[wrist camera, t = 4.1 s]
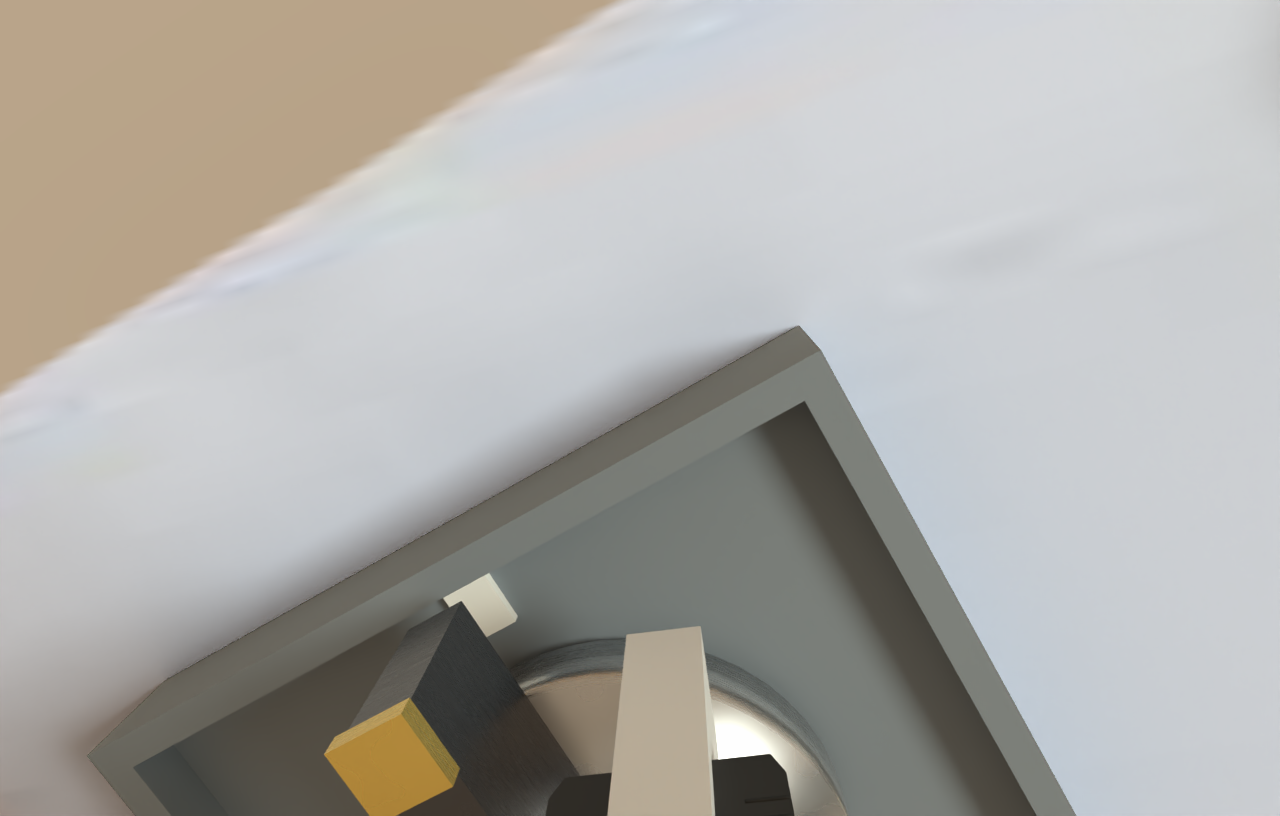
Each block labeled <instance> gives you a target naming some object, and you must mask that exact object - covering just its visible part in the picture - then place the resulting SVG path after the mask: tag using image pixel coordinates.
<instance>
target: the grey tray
mask: <svg viewBox="0 0 1280 816" xmlns="http://www.w3.org/2000/svg"><path fill="white" fill-rule="evenodd" d="M460 601H462V602H463V603H464V605H465V606H466V608H467V609H468V611H469V612H470V614H471V615H472V617H473V618H474V620H475V621H476V623H477V624H478V626H479V627H480V629H481V630H482V631H483V633H484V634H485V636H486V637H487V639H488V640H489V642H490V643H491V645H492V646H493V648H494V649H495V651H496V652H497V654H498V655H499V656H500V658H501V659H502V661H503V662H504V664H505V665H506V667H507V668H508V670H509V669H511V668H513V667H514V666H516V665H518V664H520V663H522V662H525V661H527V660H529V659H532V658H534V657H536V656H538V655H541V654H543V653H546V652H550V651H553V650H556V649H560V648H563V647H566V646H570V645H575V644H581V643H587V642H593V641H599V640H620V639H626V635H627V634H635V633H644V632H653V631H661V630H670V629H679V628H687V627H696V626H701V633H702V640H703V647H704V652H705V653H708V654H711V655H714V656H717V657H719V658H721V659H723V660H725V661H728V662H730V663H732V664H734V665H736V666H738V667H741V668H742V669H744V670H746V671H747V672H749V673H751V674H752V675H754V676H755V677H757V678H759V679H760V680H762V681H763V682H765V683H766V684H768V685H769V686H770V687H771V688H773V689H774V690H775V691H776V692H778V693H779V694H780V695H781V696H782V697H784V698H785V699H786V700H787V701H788V702H789V703H790V704H791V705H792V706H793V707H794V708H795V709H796V710H797V711H798V712H799V713H800V714H801V716H802V717H803V718H804V719H805V720H806V721H807V722H808V724H809V725H810V727H811V728H812V729H813V731H814V732H815V734H816V735H817V736H818V738H819V739H820V741H821V742H822V744H823V746H824V748H825V750H826V752H827V754H828V756H829V758H830V760H831V761H832V763H833V765H834V768H835V771H836V774H837V777H838V780H839V783H840V786H841V789H842V793H843V796H844V800H845V803H846V807H847V811H848V814H849V816H1076V814H1075V813H1074V811H1073V809H1072V807H1071V805H1070V804H1069V802H1068V800H1067V798H1066V796H1065V794H1064V793H1063V791H1062V789H1061V787H1060V785H1059V783H1058V782H1057V780H1056V778H1055V776H1054V774H1053V773H1052V771H1051V769H1050V767H1049V765H1048V763H1047V762H1046V760H1045V758H1044V756H1043V754H1042V752H1041V751H1040V749H1039V747H1038V745H1037V743H1036V742H1035V740H1034V738H1033V736H1032V734H1031V732H1030V731H1029V729H1028V727H1027V725H1026V723H1025V721H1024V720H1023V718H1022V716H1021V714H1020V712H1019V711H1018V709H1017V707H1016V705H1015V703H1014V701H1013V700H1012V698H1011V696H1010V694H1009V692H1008V690H1007V689H1006V687H1005V685H1004V683H1003V681H1002V680H1001V678H1000V676H999V674H998V672H997V670H996V669H995V667H994V665H993V663H992V661H991V659H990V658H989V656H988V654H987V652H986V650H985V649H984V647H983V645H982V643H981V641H980V639H979V638H978V636H977V634H976V632H975V630H974V628H973V627H972V625H971V623H970V621H969V619H968V618H967V616H966V614H965V612H964V610H963V608H962V607H961V605H960V603H959V601H958V599H957V597H956V596H955V594H954V592H953V590H952V588H951V587H950V585H949V583H948V581H947V579H946V577H945V576H944V574H943V572H942V570H941V568H940V566H939V565H938V563H937V561H936V559H935V557H934V556H933V554H932V552H931V550H930V548H929V546H928V545H927V543H926V541H925V539H924V537H923V535H922V534H921V532H920V530H919V528H918V526H917V525H916V523H915V521H914V519H913V517H912V515H911V514H910V512H909V510H908V508H907V506H906V504H905V503H904V501H903V499H902V497H901V495H900V494H899V492H898V490H897V488H896V486H895V484H894V483H893V481H892V479H891V477H890V475H889V473H888V472H887V470H886V468H885V466H884V464H883V463H882V461H881V459H880V457H879V455H878V453H877V452H876V450H875V448H874V446H873V444H872V442H871V441H870V439H869V437H868V435H867V433H866V431H865V430H864V428H863V426H862V424H861V422H860V421H859V419H858V417H857V415H856V413H855V411H854V410H853V408H852V406H851V404H850V402H849V400H848V399H847V397H846V395H845V393H844V391H843V390H842V388H841V386H840V384H839V382H838V380H837V379H836V377H835V375H834V373H833V371H832V369H831V368H830V366H829V364H828V362H827V360H826V359H825V357H824V355H823V353H822V351H821V350H820V349H819V347H818V346H817V345H816V344H815V343H814V342H813V341H812V340H811V338H810V337H809V336H808V335H807V334H806V333H805V332H804V331H803V329H802V328H801V327H800V326H797V327H795V328H793V329H792V330H790V331H788V332H786V333H785V334H783V335H781V336H779V337H777V338H776V339H774V340H772V341H770V342H768V343H767V344H765V345H763V346H761V347H760V348H758V349H756V350H754V351H752V352H751V353H749V354H747V355H745V356H744V357H742V358H740V359H738V360H736V361H735V362H733V363H731V364H729V365H727V366H726V367H724V368H722V369H720V370H719V371H717V372H715V373H713V374H711V375H710V376H708V377H706V378H704V379H702V380H701V381H699V382H697V383H695V384H694V385H692V386H690V387H688V388H686V389H685V390H683V391H681V392H679V393H677V394H676V395H674V396H672V397H670V398H669V399H667V400H665V401H663V402H661V403H660V404H658V405H656V406H654V407H652V408H651V409H649V410H647V411H645V412H644V413H642V414H640V415H638V416H636V417H635V418H633V419H631V420H629V421H628V422H626V423H624V424H622V425H620V426H619V427H617V428H615V429H613V430H611V431H610V432H608V433H606V434H604V435H603V436H601V437H599V438H597V439H595V440H594V441H592V442H590V443H588V444H586V445H585V446H583V447H581V448H579V449H578V450H576V451H574V452H572V453H570V454H569V455H567V456H565V457H563V458H561V459H560V460H558V461H556V462H554V463H553V464H551V465H549V466H547V467H545V468H544V469H542V470H540V471H538V472H536V473H535V474H533V475H531V476H529V477H528V478H526V479H524V480H522V481H520V482H519V483H517V484H515V485H513V486H512V487H510V488H508V489H506V490H504V491H503V492H501V493H499V494H497V495H495V496H494V497H492V498H490V499H488V500H487V501H485V502H483V503H481V504H479V505H478V506H476V507H474V508H472V509H470V510H469V511H467V512H465V513H463V514H462V515H460V516H458V517H456V518H454V519H453V520H451V521H449V522H447V523H445V524H444V525H442V526H440V527H438V528H437V529H435V530H433V531H431V532H429V533H428V534H426V535H424V536H422V537H420V538H419V539H417V540H415V541H413V542H412V543H410V544H408V545H406V546H404V547H403V548H401V549H399V550H397V551H395V552H394V553H392V554H390V555H388V556H387V557H385V558H383V559H381V560H379V561H378V562H376V563H374V564H372V565H371V566H369V567H367V568H365V569H363V570H362V571H360V572H358V573H356V574H354V575H353V576H351V577H349V578H347V579H346V580H344V581H342V582H340V583H338V584H337V585H335V586H333V587H331V588H329V589H328V590H326V591H324V592H322V593H321V594H319V595H317V596H315V597H313V598H312V599H310V600H308V601H306V602H304V603H303V604H301V605H299V606H297V607H296V608H294V609H292V610H290V611H288V612H287V613H285V614H283V615H281V616H279V617H278V618H276V619H274V620H272V621H271V622H269V623H267V624H265V625H263V626H262V627H260V628H258V629H256V630H255V631H253V632H251V633H249V634H247V635H246V636H244V637H242V638H240V639H238V640H237V641H235V642H233V643H231V644H230V645H228V646H226V647H224V648H222V649H221V650H219V651H217V652H215V653H213V654H212V655H210V656H208V657H206V658H205V659H203V660H201V661H199V662H197V663H196V664H194V665H192V666H190V667H188V668H187V669H185V670H183V671H181V672H180V673H178V674H176V675H174V676H172V677H171V678H169V679H167V680H165V681H164V682H163V683H162V684H161V685H160V686H159V687H158V688H157V689H156V690H155V691H154V692H153V693H151V694H150V695H149V696H148V697H147V698H146V699H145V700H144V701H143V702H142V703H141V704H140V705H139V706H138V707H137V708H136V709H135V710H134V711H133V712H132V713H131V714H130V715H129V716H128V717H127V718H126V719H125V720H124V721H123V722H121V723H120V724H119V725H118V726H117V727H116V728H115V729H114V730H113V731H112V732H111V733H110V734H109V735H108V736H107V737H106V738H105V739H104V740H103V741H102V742H101V743H100V744H99V745H98V746H97V747H96V748H95V749H94V750H93V751H92V752H90V753H89V754H88V755H87V757H88V758H89V759H90V760H91V762H92V763H93V764H94V765H95V767H96V768H97V769H98V770H99V771H100V773H101V774H102V775H103V776H104V778H105V779H106V780H107V781H108V783H109V784H110V785H111V786H112V788H113V789H114V790H115V791H116V792H117V794H118V795H119V796H120V797H121V799H122V800H123V801H124V802H125V804H126V805H127V806H128V807H129V808H130V810H131V811H132V812H133V813H134V815H135V816H369V814H368V813H367V812H366V810H365V809H364V808H363V806H362V805H361V804H360V802H359V801H358V800H357V798H356V797H355V795H354V794H353V793H352V791H351V790H350V789H349V787H348V786H347V785H346V783H345V782H344V781H343V779H342V778H341V777H340V775H339V774H338V773H337V771H336V770H335V769H334V767H333V766H332V765H331V763H330V762H329V761H328V759H327V758H326V757H325V755H324V754H325V752H326V750H327V749H328V747H329V745H330V744H331V742H332V741H333V739H334V737H336V736H338V735H339V734H341V733H343V732H345V731H347V730H348V729H349V728H350V726H351V724H352V723H353V721H354V719H355V718H356V716H357V714H358V713H359V711H360V709H361V708H362V706H363V704H364V703H365V701H366V699H367V698H368V696H369V694H370V693H371V691H372V689H373V688H374V686H375V684H376V683H377V681H378V679H379V678H380V676H381V674H382V673H383V671H384V669H385V668H386V666H387V664H388V663H389V661H390V659H391V658H392V656H393V654H394V653H395V651H396V650H397V648H398V646H399V645H400V643H401V641H402V640H403V638H404V636H405V635H406V633H407V631H408V630H409V629H410V628H412V627H414V626H416V625H418V624H420V623H421V622H423V621H425V620H427V619H429V618H431V617H433V616H434V615H436V614H438V613H440V612H442V611H444V610H445V609H447V608H449V607H451V606H453V605H455V604H456V603H458V602H460ZM396 816H399V815H396Z"/></svg>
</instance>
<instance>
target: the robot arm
mask: <svg viewBox="0 0 1280 816" xmlns="http://www.w3.org/2000/svg"><path fill="white" fill-rule="evenodd" d="M545 816H795V815H794V809H793V804H792V799H791V794H790V788H789V783H788V778H787V773H786V771H785V770H784V769H783V768H782V767H781V765H780V764H779V763H778V762H777V761H776V760H775V759H774V757H773V756H772V755H771V754H763V755H753V756H744V757H734V758H725V759H719V757H718V745H717V738H716V731H715V724H714V717H713V710H712V703H711V696H710V689H709V682H708V675H707V668H706V661H705V654H704V647H703V640H702V633H701V626H696V627H687V628H679V629H670V630H661V631H653V632H644V633H635V634H627V635H626V644H625V653H624V663H623V672H622V682H621V691H620V701H619V710H618V720H617V729H616V739H615V748H614V758H613V767H612V773H603V774H593V775H584V776H574V777H565V778H564V779H563V780H562V782H561V783H560V784H559V786H558V787H557V788H556V790H555V791H554V792H553V794H552V795H551V796H550V798H549V800H548V805H547V809H546V814H545Z"/></svg>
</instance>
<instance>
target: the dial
mask: <svg viewBox="0 0 1280 816" xmlns="http://www.w3.org/2000/svg"><path fill="white" fill-rule="evenodd" d="M625 644H626V639H620V640H599V641H593V642H587V643H581V644H575V645H570V646H566V647H563V648H560V649H556V650H553V651H550V652H546V653H543V654H541V655H538V656H536V657H534V658H532V659H529V660H527V661H525V662H522V663H520V664H518V665H516V666H514V667H513V668H511V669H509V670H508V668H507V667H506V665H505V664H504V662H503V661H502V659H501V658H500V656H499V655H498V654H497V652H496V651H495V649H494V648H493V646H492V645H491V643H490V642H489V640H488V639H487V637H486V636H485V634H484V633H483V631H482V630H481V629H480V627H479V626H478V624H477V623H476V621H475V620H474V618H473V617H472V615H471V614H470V612H469V611H468V609H467V608H466V606H465V605H464V603H463V602H462V601H460V602H458V603H456V604H455V605H453V606H451V607H449V608H447V609H445V610H444V611H442V612H440V613H438V614H436V615H434V616H433V617H431V618H429V619H427V620H425V621H423V622H421V623H420V624H418V625H416V626H414V627H412V628H410V629H409V630H408V631H407V633H406V635H405V636H404V638H403V640H402V641H401V643H400V645H399V646H398V648H397V650H396V651H395V653H394V654H393V656H392V658H391V659H390V661H389V663H388V664H387V666H386V668H385V669H384V671H383V673H382V674H381V676H380V678H379V679H378V681H377V683H376V684H375V686H374V688H373V689H372V691H371V693H370V694H369V696H368V698H367V699H366V701H365V703H364V704H363V706H362V708H361V709H360V711H359V713H358V714H357V716H356V718H355V719H354V721H353V723H352V724H351V726H350V728H349V729H348V730H347V731H345V732H343V733H341V734H339V735H338V736H336V737H334V739H333V741H332V742H331V744H330V745H329V747H328V749H327V750H326V752H325V754H324V755H325V757H326V758H327V759H328V761H329V762H330V763H331V765H332V766H333V767H334V769H335V770H336V771H337V773H338V774H339V775H340V777H341V778H342V779H343V781H344V782H345V783H346V785H347V786H348V787H349V789H350V790H351V791H352V793H353V794H354V795H355V797H356V798H357V800H358V801H359V802H360V804H361V805H362V806H363V808H364V809H365V810H366V812H367V813H368V814H369V816H396V815H399V816H545V814H546V809H547V805H548V800H549V798H550V796H551V795H552V794H553V792H554V791H555V790H556V788H557V787H558V786H559V784H560V783H561V782H562V780H563V779H564V778H565V777H574V776H584V775H593V774H603V773H612V767H613V758H614V748H615V739H616V729H617V720H618V710H619V701H620V691H621V682H622V672H623V663H624V653H625ZM704 654H705V661H706V668H707V675H708V682H709V689H710V696H711V703H712V710H713V717H714V724H715V731H716V738H717V745H718V757H719V759H725V758H734V757H744V756H753V755H763V754H771V755H772V756H773V757H774V759H775V760H776V761H777V762H778V763H779V764H780V765H781V767H782V768H783V769H784V770H785V771H786V773H787V778H788V783H789V788H790V794H791V799H792V804H793V809H794V815H795V816H849V814H848V811H847V807H846V803H845V800H844V796H843V793H842V789H841V786H840V783H839V780H838V777H837V774H836V771H835V768H834V765H833V763H832V761H831V760H830V758H829V756H828V754H827V752H826V750H825V748H824V746H823V744H822V742H821V741H820V739H819V738H818V736H817V735H816V734H815V732H814V731H813V729H812V728H811V727H810V725H809V724H808V722H807V721H806V720H805V719H804V718H803V717H802V716H801V714H800V713H799V712H798V711H797V710H796V709H795V708H794V707H793V706H792V705H791V704H790V703H789V702H788V701H787V700H786V699H785V698H784V697H782V696H781V695H780V694H779V693H778V692H776V691H775V690H774V689H773V688H771V687H770V686H769V685H768V684H766V683H765V682H763V681H762V680H760V679H759V678H757V677H755V676H754V675H752V674H751V673H749V672H747V671H746V670H744V669H742V668H741V667H738V666H736V665H734V664H732V663H730V662H728V661H725V660H723V659H721V658H719V657H717V656H714V655H711V654H708V653H705V652H704Z"/></svg>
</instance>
